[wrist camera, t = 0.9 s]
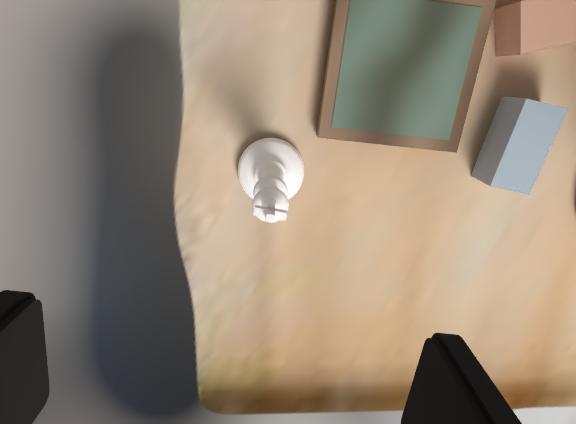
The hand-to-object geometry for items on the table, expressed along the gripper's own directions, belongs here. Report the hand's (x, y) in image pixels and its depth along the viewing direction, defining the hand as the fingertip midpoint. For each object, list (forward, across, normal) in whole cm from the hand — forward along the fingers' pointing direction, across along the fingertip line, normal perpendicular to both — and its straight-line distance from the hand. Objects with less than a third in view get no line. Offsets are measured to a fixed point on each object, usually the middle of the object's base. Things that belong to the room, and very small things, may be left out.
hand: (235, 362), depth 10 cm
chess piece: (+21, -1, 0) cm, 21 cm away
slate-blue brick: (+21, -18, -4) cm, 28 cm away
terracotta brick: (+21, -17, -12) cm, 30 cm away
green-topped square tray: (+21, -8, -8) cm, 24 cm away
